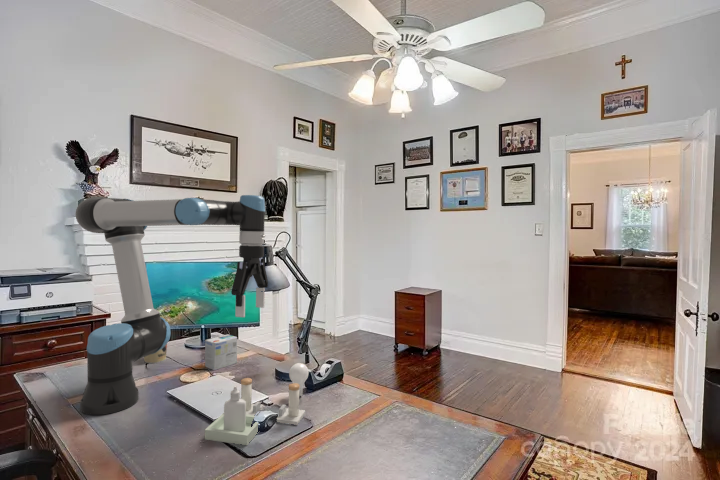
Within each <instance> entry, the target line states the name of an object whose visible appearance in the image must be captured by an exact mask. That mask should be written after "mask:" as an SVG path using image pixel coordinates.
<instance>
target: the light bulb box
mask: <svg viewBox="0 0 720 480" xmlns="http://www.w3.org/2000/svg"><path fill="white" fill-rule="evenodd" d="M204 347H205V348H204V349H205V350H204V357H205V358H204V367H205V368H208V369H210V370H213V371H216V370H220V369H223V368H225V367H229V366H232V365H235V364H237V363H238V337H237V336H234V335H232V334H228V333H226V334H224V335H223V334H222V335H220V336H216V337H213V338H208V339H205V340H204Z"/></svg>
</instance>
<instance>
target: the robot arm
mask: <svg viewBox="0 0 720 480" xmlns="http://www.w3.org/2000/svg"><path fill="white" fill-rule="evenodd" d="M265 205H266V204H265V198H264V196H262V195H253V194H243V195H240V198H239V201H228V200H227V201H223V200H214V199H204V198H199V197H185V198H180V199H179V198H177V199H176V198H175V199H153V200H152V199H150V200H149V199H148V200H147V199H146V200H133V199H129V198H118V197H117V198H116V197H102V196H96V197H95V196H94V197H93V196H92V197H88V198H86V199H83V200H82V201H81V202H80V203H79V204H78V205H77V207H76V209H75V219H76V221H77V224H78V225H79V226H80V227H81V228H83V230H85V231H87V232H90V233H94V234H104V239H105V242H107V243H108V244H110V245H111V247H112V253H113V258H114V263H115V268H116V273H117V274H116V275H117V278H118V284H119V289H120V290H119V291H120V294H121V300H122V306H123V310H124V316H123V318H122V319H121V320H120V323H118V322H117V323H112V324H108V325H104V326H100V327H99V328H96V329H94V330H93V331H92V332H90V334H89V335H88V337H87V345H86V353H87V355H86V358H87V359H86V361H87V382H86V385H85V388H84V392H83V395H82V397H81V399H80V403H79V404H80V408H79V409H80V412H82V413H83V414H84V415H85V414H86V415H90V416H103V415H106V414H107V415H108V414H114V413H117V412H120V411H124V410H126V409H128V408H130V407H132V406H134V405H135V404H136V403H137V402H138V401H139V399H140V397H139V394H140V393H139V389H138V388H137V385H136V382H135V379H134V376H133V363H134V362H136V361H138V360H140V359H144V357H145V356H148V355H150V354H154V353H156V352H157V351H159V350H161V349H162V348H164V347H165V346H166V344H167V345H168V343H169V341H170V339H171V331H172V330H171V326H170V324H169V322H168V321H166V319H165V318H163V317H161V313H160V311H158V310H157V309H155V308H154V304H153V298H152V293H151V288H150V282H149V277H148V272H147V266H146V262H145V257H144V251H143V245H142V240H143V238H144V237H145V230H146V229H147V228H148V226H149V227H151V226H152V227H154V226H156V227H157V226H206V225H207V226H239V237H238V238H239V241H238V242H239V243H238V244H240V246H238V248H239V250H238V251H239V252H238V254H239V255H238V256H239V257H240V258H241V259H243V261H237V265H236V272H235V275H234V280H233V284H232V287H231V290H230V291H231V292H230V294H231V295H232V296H235V311H234V312H235V315H234V316H235V318H245V317H246V295H245V292H246V289H247V286H248V284H249V281H250V279H251V278H252V277H253V278H254V282H255V284H256V285H257V287H256V288H255V308H260V309H261V308H262V309H264V308H265V303H266V301H265V300H266V299H265V292H266V289H265V288H268V287H269V281H268V275H267V270H266V265H265V258H264V256H265V246H264V244H265V238H266V235H265V217H266V215H265V214H266V206H265ZM261 291H263V292H261ZM264 291H265V292H264Z"/></svg>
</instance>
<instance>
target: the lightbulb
mask: <svg viewBox="0 0 720 480" xmlns="http://www.w3.org/2000/svg"><path fill="white" fill-rule="evenodd" d="M309 373H310V372H309V368H308V367H307V365H306V364H304V363H303V362H302V363H301V362H296V363H295V364H293V365H292V366H291V367H290V369H289V372H288V375H289V379H290V380H291V382H292V383H297V384H299V385H300V388H299V398H300V397H302V396H303V391H304V389H303V388H304V386H305V382H306V381H307V379H308V377H309Z"/></svg>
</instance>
